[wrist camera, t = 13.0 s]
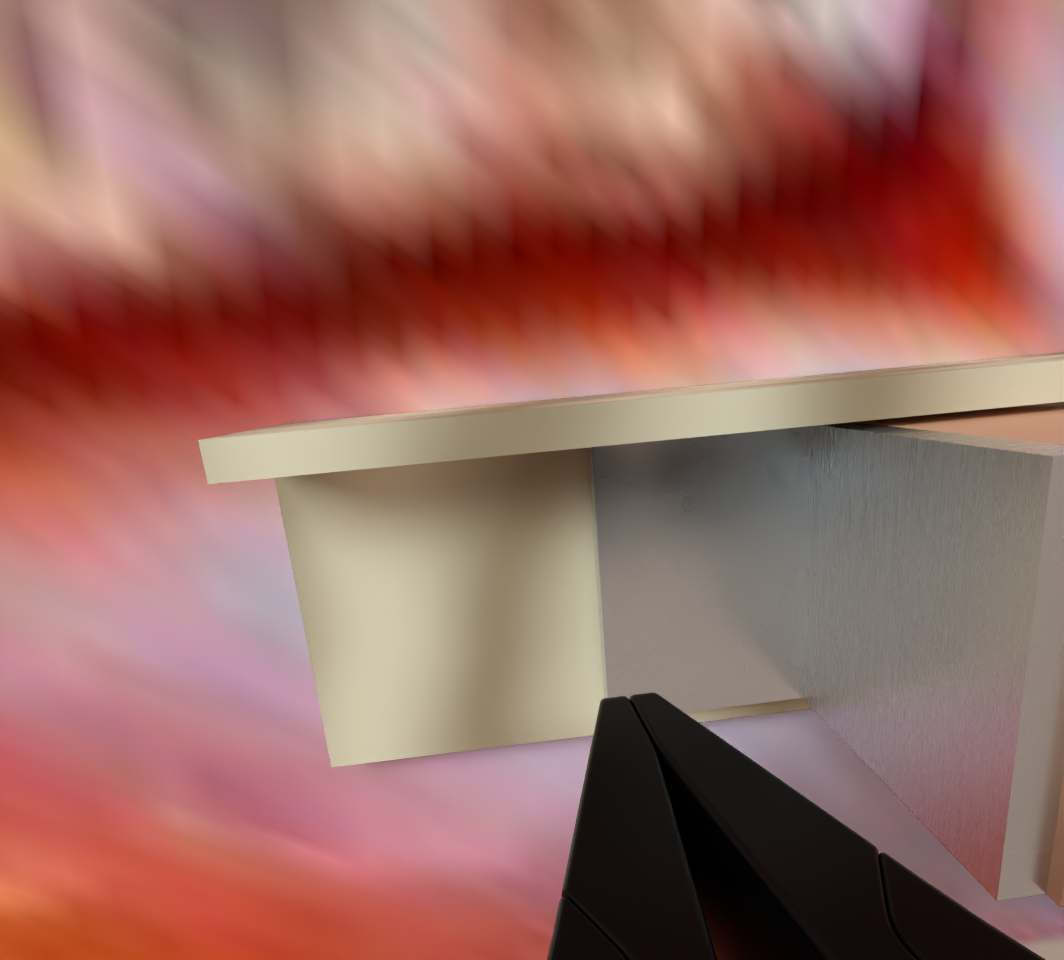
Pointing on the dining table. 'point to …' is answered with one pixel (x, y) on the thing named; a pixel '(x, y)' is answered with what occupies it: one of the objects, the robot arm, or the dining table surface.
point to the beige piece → (513, 542)
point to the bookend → (858, 608)
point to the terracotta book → (1017, 425)
